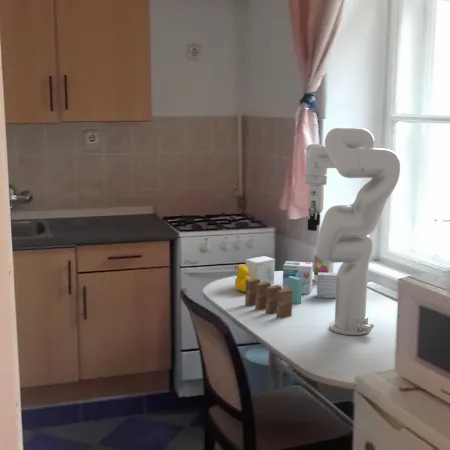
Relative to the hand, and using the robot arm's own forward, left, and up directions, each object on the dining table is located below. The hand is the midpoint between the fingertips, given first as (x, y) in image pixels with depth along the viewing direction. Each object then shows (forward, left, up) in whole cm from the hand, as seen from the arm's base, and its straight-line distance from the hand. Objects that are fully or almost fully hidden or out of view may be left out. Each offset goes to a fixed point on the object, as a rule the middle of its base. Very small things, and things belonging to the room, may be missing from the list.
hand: (313, 227), depth 246 cm
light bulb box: (+12, -4, -27) cm, 30 cm away
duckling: (+24, +13, -27) cm, 38 cm away
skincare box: (+27, +2, -27) cm, 38 cm away
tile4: (+8, +21, -27) cm, 35 cm away
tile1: (-8, +21, -27) cm, 35 cm away
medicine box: (0, -8, -27) cm, 28 cm away
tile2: (-3, +21, -27) cm, 34 cm away
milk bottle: (+17, -23, -27) cm, 40 cm away
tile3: (+3, +21, -27) cm, 34 cm away
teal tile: (+2, +7, -27) cm, 28 cm away
